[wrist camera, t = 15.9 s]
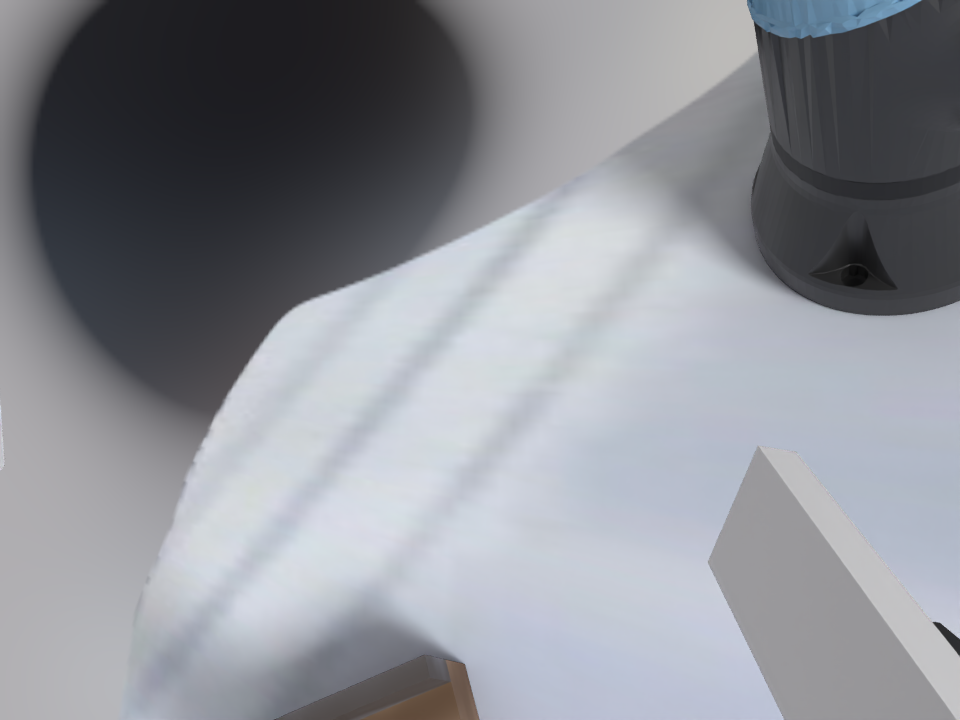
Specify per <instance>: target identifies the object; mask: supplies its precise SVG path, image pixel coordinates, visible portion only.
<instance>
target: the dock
mask: <svg viewBox="0 0 960 720" xmlns="http://www.w3.org/2000/svg"><path fill="white" fill-rule="evenodd" d="M275 720H479V717H478V713H477V709H476V705H475V702H474V698H473V694H472V690H471V686H470V682H469V679H468V675H467V671H466V667H465V664H462V663H458V662H454V661H449V660H445V659H441V658H437V657H433V656H428V655H423V656H420V657H418V658H416V659H413V660H411V661H409V662H407V663H404V664H402V665H400V666H397V667H395V668H393V669H390V670H388V671H386V672H383V673H381V674H379V675H376V676H374V677H372V678H369V679H367V680H365V681H363V682H360V683H358V684H356V685H353V686H351V687H349V688H346V689H344V690H342V691H339V692H337V693H335V694H332V695H330V696H328V697H325V698H323V699H321V700H319V701H316V702H314V703H312V704H309V705H307V706H305V707H302V708H300V709H298V710H295V711H293V712H291V713H288V714H286V715H284V716H281V717H279V718H277V719H275Z"/></svg>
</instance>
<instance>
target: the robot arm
mask: <svg viewBox="0 0 960 720" xmlns="http://www.w3.org/2000/svg"><path fill="white" fill-rule="evenodd" d="M747 5H748V8H749V11H750V13H751V16H752V19H753V20H754V26H755V32H756V39H757V45H758V52H759V58H760V65H761V71H762V78H763V84H764V91H765V97H766V104H767V110H768V117H769V122H770V129H771V132H770V135H769V138H768V142H767V145H766V148H765V151H764V154H763V157H762V161H761V163H760V165H759V167H758V170H757V172H756V175H755V178H754V182H753V187H752V194H751V213H752V219H753V224H754V229H755V234H756V239H757V242H758V246H759V248H760V251H761V253H762V255H763V257H764V259H765V260H766V262H767V264H768V265H769V266H770V268H771V269H772V270H773V272H774V273H775V274H776V275H777V276H778V277H779V278H780V279H781V280H782V281H783V282H784V283H786V284H787V285H788V286H789V287H791V288H792V289H793V290H795V291H796V292H798V293H799V294H801V295H803V296H805V297H806V298H808V299H810V300H812V301H815V302H817V303H819V304H822V305H824V306H827V307H831V308H834V309H837V310H841V311H845V312H851V313H857V314H864V315H885V316H889V315H904V314H912V313H918V312H924V311H928V310H933V309H936V308H940V307H943V306H946V305H949V304H952V303H955V302H957V301H960V0H747ZM3 467H4V451H3V435H2V418H1V402H0V470H1V469H2V468H3ZM708 564H709V566H710V568H711V570H712V572H713V574H714V576H715V578H716V580H717V582H718V584H719V586H720V588H721V590H722V592H723V595H724V597H725V599H726V601H727V603H728V605H729V607H730V609H731V611H732V613H733V615H734V617H735V619H736V621H737V623H738V625H739V627H740V629H741V632H742V634H743V636H744V638H745V640H746V642H747V644H748V646H749V648H750V650H751V652H752V654H753V656H754V658H755V660H756V662H757V664H758V666H759V669H760V671H761V673H762V675H763V677H764V679H765V681H766V683H767V685H768V687H769V689H770V691H771V693H772V695H773V697H774V699H775V701H776V703H777V706H778V708H779V710H780V712H781V714H782V716H783V718H784V720H960V639H959V638H958V637H956V636H955V635H954V634H953V633H951V632H950V631H949V630H948V629H947V628H945V627H944V626H943V625H942V624H941V623H937V622H932V621H931V620H930V619H929V617H928V616H927V615H926V614H925V612H924V611H923V610H922V609H921V607H920V606H919V605H918V604H917V602H916V601H915V600H914V599H913V597H912V596H911V595H910V594H909V592H908V591H907V590H906V589H905V587H904V586H903V585H902V584H901V582H900V581H899V580H898V579H897V577H896V576H895V575H894V574H893V572H892V571H891V570H890V569H889V567H888V566H887V565H886V564H885V562H884V561H883V560H882V559H881V557H880V556H879V555H878V554H877V552H876V551H875V550H874V549H873V547H872V546H871V545H870V544H869V542H868V541H867V540H866V539H865V537H864V536H863V535H862V534H861V532H860V531H859V530H858V529H857V527H856V526H855V525H854V524H853V522H852V521H851V520H850V519H849V517H848V516H847V515H846V514H845V512H844V511H843V510H842V509H841V507H840V506H839V505H838V504H837V502H836V501H835V500H834V499H833V497H832V496H831V495H830V494H829V492H828V491H827V490H826V489H825V487H824V486H823V485H822V484H821V482H820V481H819V480H818V479H817V477H816V476H815V475H814V474H813V472H812V471H811V470H810V469H809V467H808V466H807V465H806V464H805V462H804V461H803V460H802V459H801V457H800V456H799V455H798V453H797V452H794V451H788V450H781V449H775V448H769V447H763V446H758V447H757V449H756V451H755V454H754V456H753V458H752V461H751V463H750V465H749V468H748V470H747V472H746V475H745V477H744V479H743V482H742V484H741V486H740V488H739V491H738V493H737V495H736V498H735V500H734V502H733V505H732V507H731V509H730V512H729V514H728V516H727V519H726V521H725V523H724V526H723V528H722V530H721V532H720V535H719V537H718V539H717V542H716V544H715V546H714V549H713V551H712V553H711V556H710V558H709V560H708Z"/></svg>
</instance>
